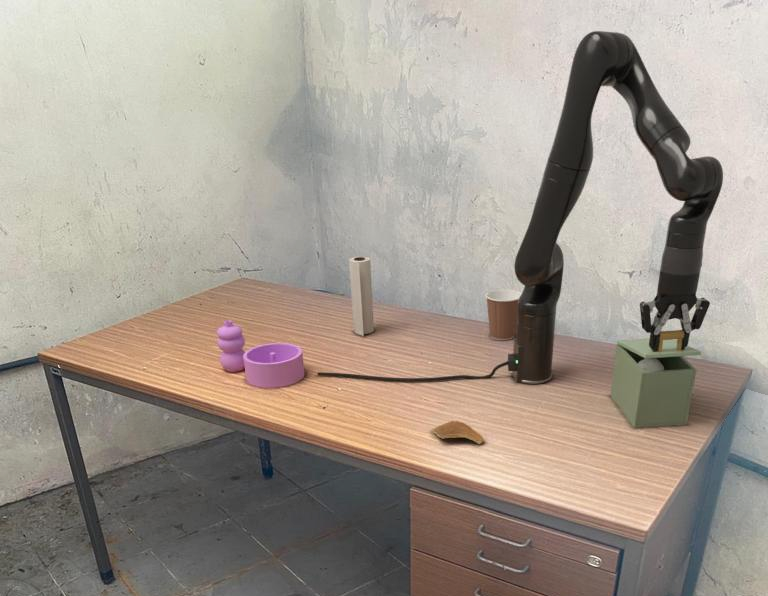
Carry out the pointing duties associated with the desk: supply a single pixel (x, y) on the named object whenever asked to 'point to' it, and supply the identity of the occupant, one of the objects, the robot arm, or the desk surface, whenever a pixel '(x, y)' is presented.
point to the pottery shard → (457, 431)
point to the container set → (260, 359)
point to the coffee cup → (502, 313)
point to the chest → (652, 389)
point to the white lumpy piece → (651, 365)
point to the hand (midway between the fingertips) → (667, 349)
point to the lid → (660, 346)
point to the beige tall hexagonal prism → (361, 295)
